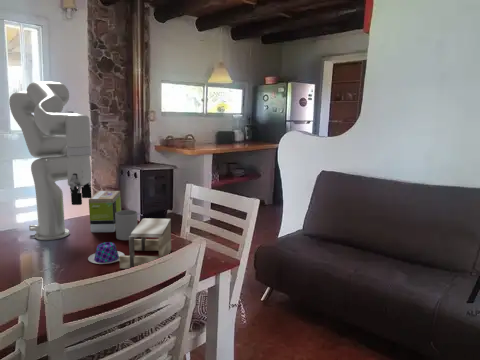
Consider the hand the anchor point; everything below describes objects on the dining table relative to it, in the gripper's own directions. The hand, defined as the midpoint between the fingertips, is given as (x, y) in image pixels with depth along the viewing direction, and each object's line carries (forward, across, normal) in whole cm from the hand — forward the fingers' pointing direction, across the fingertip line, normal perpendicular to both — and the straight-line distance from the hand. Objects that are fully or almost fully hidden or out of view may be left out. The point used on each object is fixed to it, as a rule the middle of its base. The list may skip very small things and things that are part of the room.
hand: (82, 201), depth 132 cm
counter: (+20, +3, +22) cm, 30 cm away
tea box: (+20, -32, -2) cm, 38 cm away
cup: (+20, -20, +10) cm, 30 cm away
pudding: (+20, +3, +8) cm, 22 cm away
